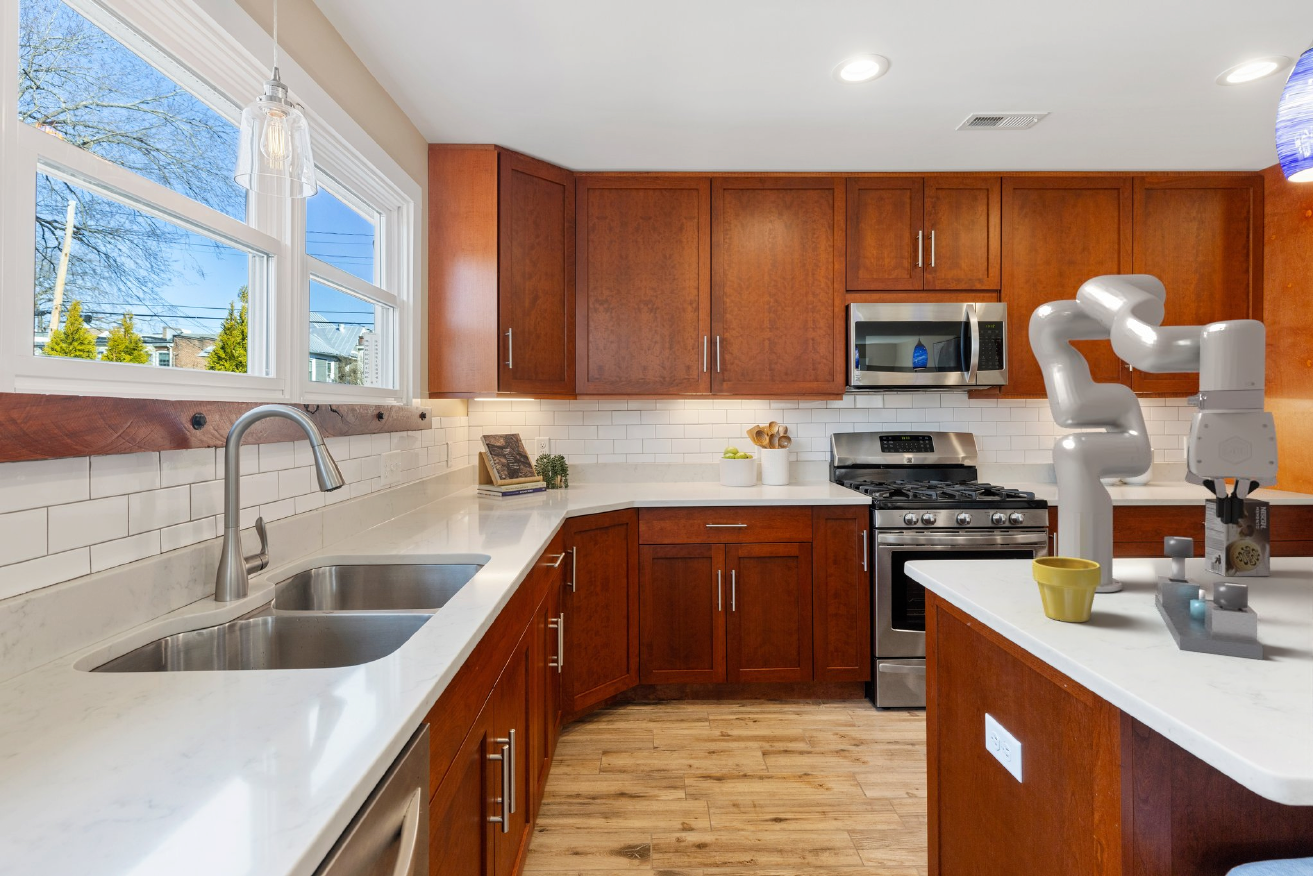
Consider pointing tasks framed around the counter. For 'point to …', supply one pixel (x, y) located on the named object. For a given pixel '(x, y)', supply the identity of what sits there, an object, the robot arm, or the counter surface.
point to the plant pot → (1067, 586)
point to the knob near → (1230, 595)
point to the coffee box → (1238, 540)
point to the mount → (1206, 622)
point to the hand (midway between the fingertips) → (1229, 523)
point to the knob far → (1178, 553)
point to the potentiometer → (1198, 606)
